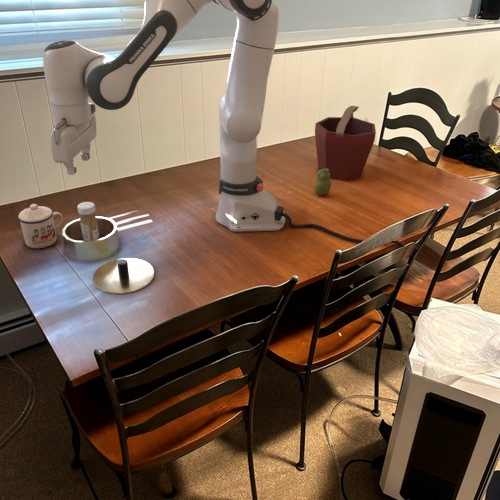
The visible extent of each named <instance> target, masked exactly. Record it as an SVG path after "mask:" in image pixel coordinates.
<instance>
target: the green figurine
mask: <svg viewBox="0 0 500 500" xmlns="http://www.w3.org/2000/svg"><path fill="white" fill-rule="evenodd" d="M316 177H317V182H315V185H314V192H315V193H316V194H317V195H318V196H320V197H324V196H326V195H329V193H330V191H331V188H332V182H331V178H330V173H329V169H327V168H323V169H321V170H318V171H317V174H316Z"/></svg>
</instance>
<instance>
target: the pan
mask: <svg viewBox="0 0 500 500" xmlns="http://www.w3.org/2000/svg"><path fill="white" fill-rule="evenodd" d="M96 221H97V226H98V231H99V236H103V237H101V238H100V237H99V239H97V240H92V241H84V240H79V239H83V234H82V229H81V223H80V218H77V219H73V220H72V221H70V222H68V223H67V224H65V225H64V227H63V228H62V230H61V236H62V242H63V246H64V251H65V254H66V255H67V256H68V257H69V258H71V259H74V260H76V261H81V262H93V261H99V260H102V259H105V258H108V257H110V256H112V255H113V254H115V253H116V252H117V251H118V250H119V248H120V246H121V245H120V238H119V231H118V224H117V222H116V221H114V220H113V219H111V218H109V217H105V216H97V215H96Z"/></svg>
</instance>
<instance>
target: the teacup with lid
mask: <svg viewBox="0 0 500 500" xmlns="http://www.w3.org/2000/svg"><path fill="white" fill-rule="evenodd" d="M55 216H58V222H57V223H56V224H55V220H54V217H55ZM17 219H18V220H19V223H20V227H21V231H22V235H23V239H24V243H25V245H26V246H27V247H29V248H31V249H44V248H47V247H51V246H52V245H54V244H55V243H56V242H57V239H58V236H57V229H59V228H60V227H61V226H62V224H63V221H64V216H63V214H62V213H61V212H58V211H54V212H53V210H52V209H51V208H50V207H48V206H44V205H38V204H37V203H32V204H30V205H29V207H26V208H24V209H22V210H21V211H19V214H18V215H17Z"/></svg>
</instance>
